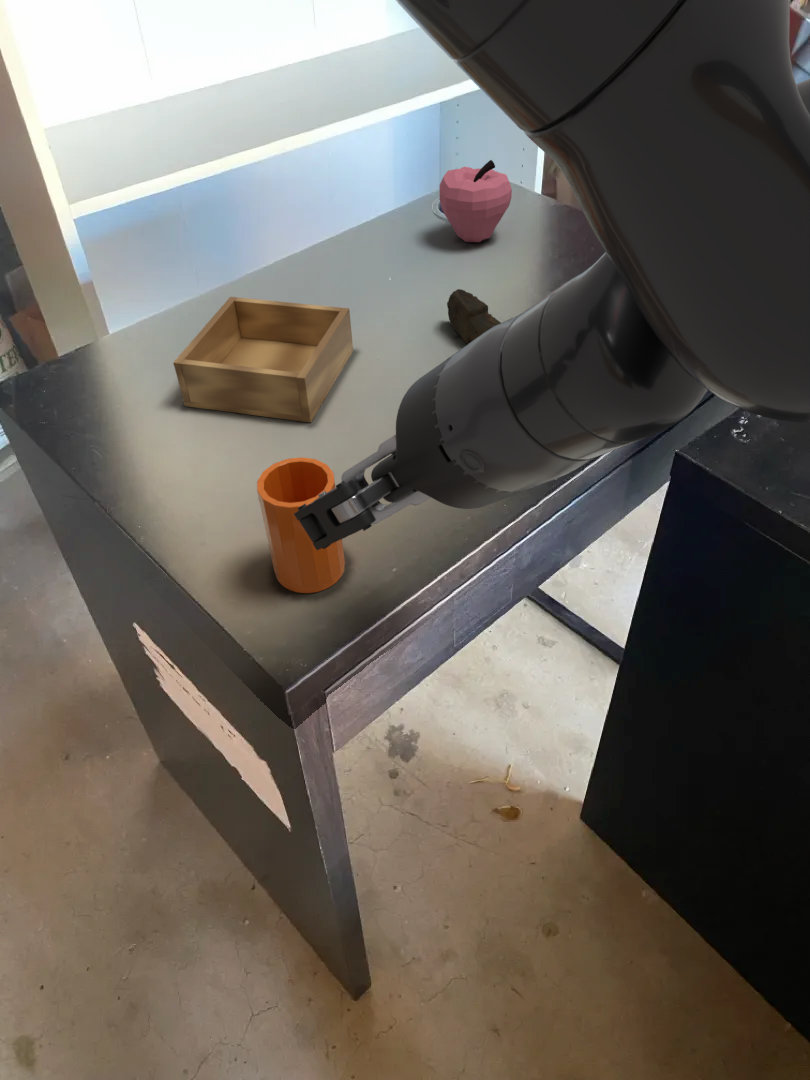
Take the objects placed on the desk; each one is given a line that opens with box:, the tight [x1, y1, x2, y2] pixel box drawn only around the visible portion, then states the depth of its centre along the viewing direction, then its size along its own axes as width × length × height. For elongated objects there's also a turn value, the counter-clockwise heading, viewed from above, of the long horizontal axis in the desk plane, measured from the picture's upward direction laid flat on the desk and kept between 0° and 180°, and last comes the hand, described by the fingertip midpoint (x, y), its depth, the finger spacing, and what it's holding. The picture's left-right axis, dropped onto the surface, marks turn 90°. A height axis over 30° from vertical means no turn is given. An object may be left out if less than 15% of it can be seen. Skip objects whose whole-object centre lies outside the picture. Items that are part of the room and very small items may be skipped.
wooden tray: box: [172, 296, 354, 423], centre depth 85 cm, size 14×14×5 cm
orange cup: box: [256, 456, 346, 594], centre depth 63 cm, size 6×6×9 cm
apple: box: [439, 159, 513, 243], centre depth 106 cm, size 10×9×10 cm
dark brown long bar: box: [446, 288, 502, 345], centre depth 86 cm, size 19×4×5 cm, turn 28°
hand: (361, 491), depth 53 cm, fingers open, 8 cm apart
